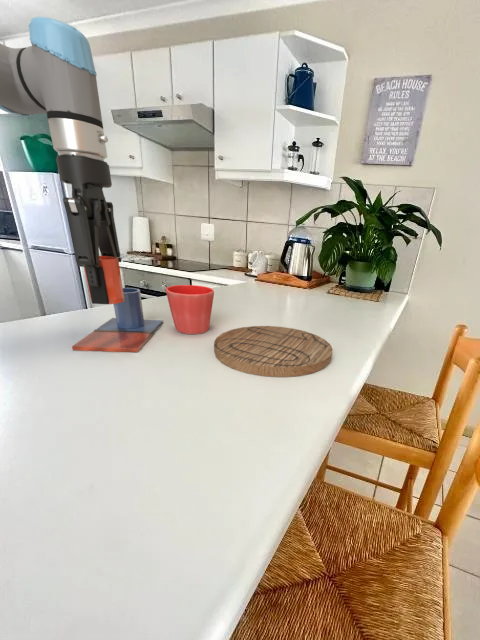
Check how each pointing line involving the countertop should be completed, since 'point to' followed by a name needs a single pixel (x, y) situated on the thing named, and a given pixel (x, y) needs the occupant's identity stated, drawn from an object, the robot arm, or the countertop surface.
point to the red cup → (111, 279)
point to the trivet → (272, 351)
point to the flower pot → (190, 307)
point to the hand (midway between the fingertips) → (107, 299)
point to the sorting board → (118, 337)
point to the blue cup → (129, 310)
